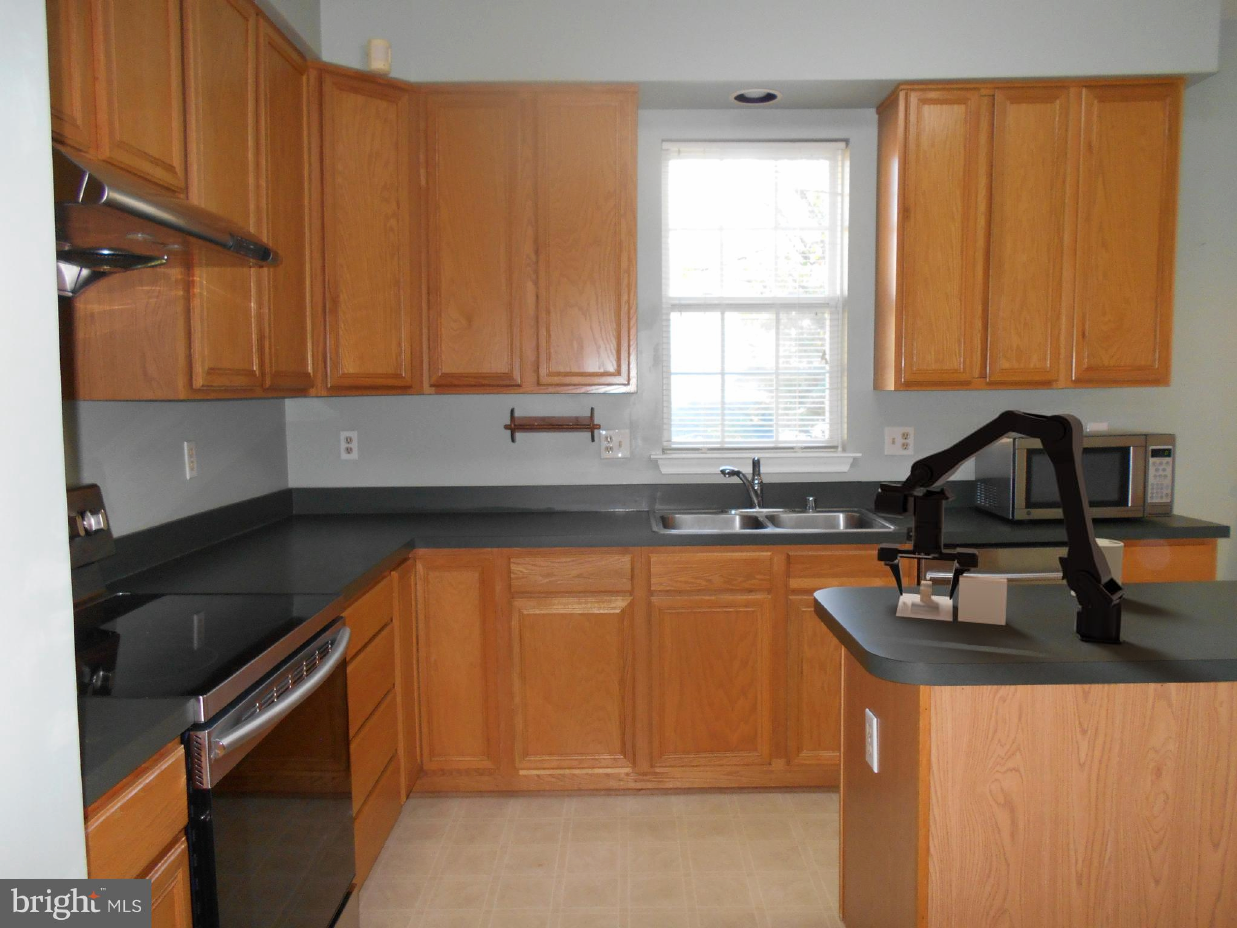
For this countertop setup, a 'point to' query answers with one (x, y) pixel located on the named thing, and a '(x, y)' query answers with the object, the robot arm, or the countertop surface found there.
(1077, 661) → the countertop surface
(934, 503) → the robot arm
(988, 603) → the tile
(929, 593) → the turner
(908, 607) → the board
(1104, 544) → the can
